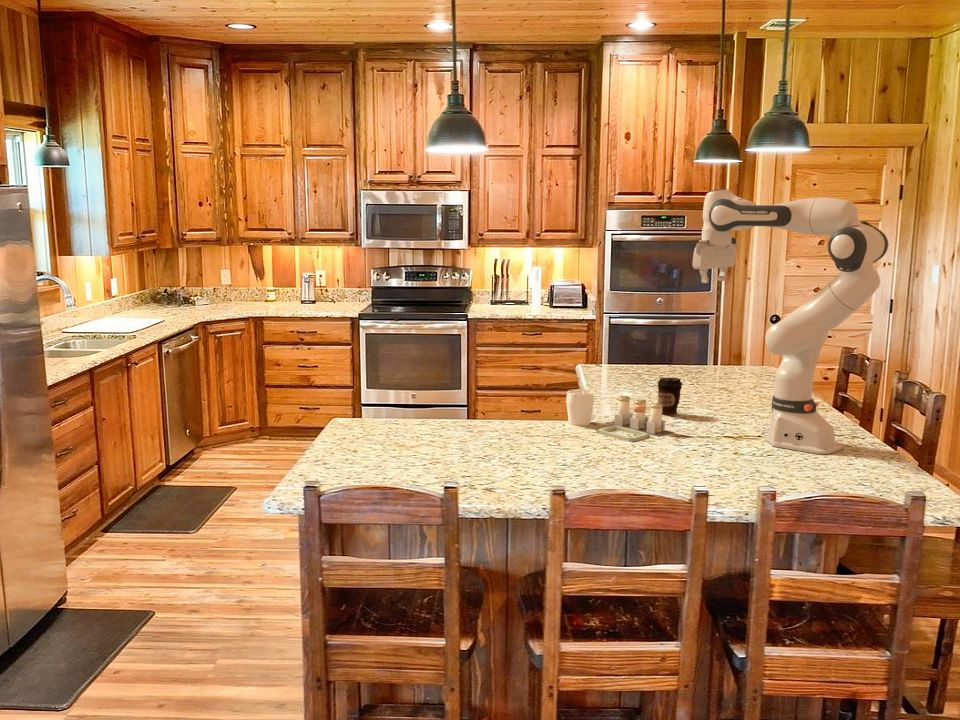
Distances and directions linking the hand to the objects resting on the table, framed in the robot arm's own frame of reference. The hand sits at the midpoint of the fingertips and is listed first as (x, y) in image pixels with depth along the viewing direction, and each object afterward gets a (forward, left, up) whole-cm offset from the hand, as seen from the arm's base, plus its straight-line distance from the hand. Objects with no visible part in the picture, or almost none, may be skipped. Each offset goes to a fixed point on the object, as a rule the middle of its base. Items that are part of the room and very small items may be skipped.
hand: (713, 282), depth 284 cm
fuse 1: (+14, +27, -46) cm, 56 cm away
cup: (+24, +37, -48) cm, 65 cm away
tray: (+5, +38, -48) cm, 61 cm away
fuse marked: (+7, +27, -46) cm, 54 cm away
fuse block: (+7, +27, -48) cm, 56 cm away
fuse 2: (+1, +27, -46) cm, 54 cm away
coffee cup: (+15, 0, -48) cm, 51 cm away
